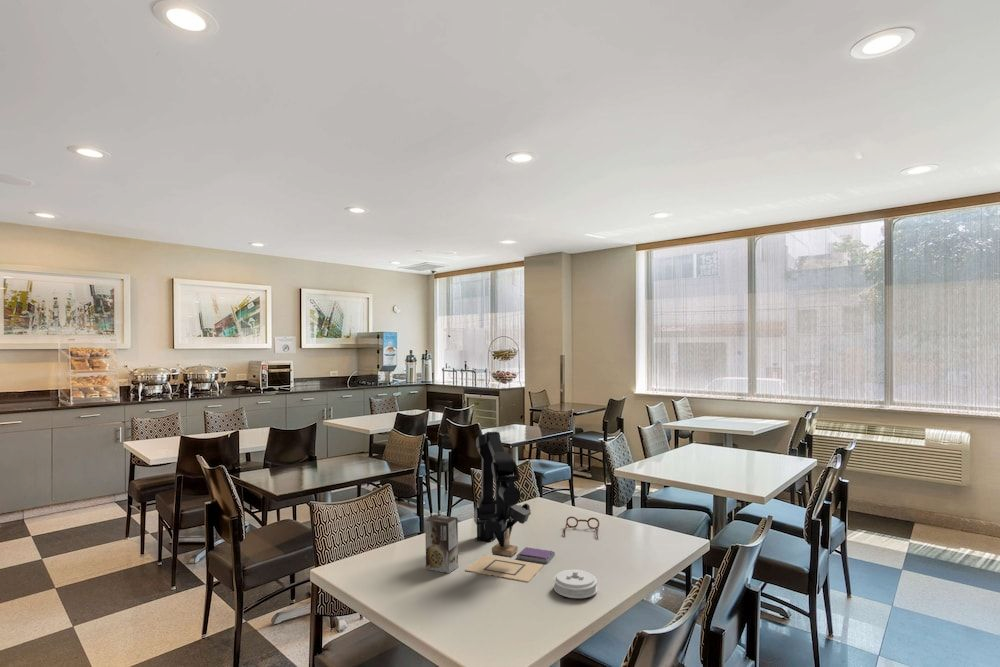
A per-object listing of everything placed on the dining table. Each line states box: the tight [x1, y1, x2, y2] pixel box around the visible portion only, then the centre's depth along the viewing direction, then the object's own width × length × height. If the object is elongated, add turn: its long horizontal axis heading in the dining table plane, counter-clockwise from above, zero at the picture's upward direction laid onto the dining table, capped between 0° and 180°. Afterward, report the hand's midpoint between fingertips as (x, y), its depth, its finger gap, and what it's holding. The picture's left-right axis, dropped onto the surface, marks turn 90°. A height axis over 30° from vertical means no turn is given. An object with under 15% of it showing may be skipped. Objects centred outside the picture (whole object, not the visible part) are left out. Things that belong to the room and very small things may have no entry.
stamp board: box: [464, 554, 545, 583], centre depth 174 cm, size 22×14×1 cm, turn 66°
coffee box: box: [424, 514, 459, 574], centre depth 175 cm, size 9×6×16 cm
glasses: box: [563, 516, 600, 540], centre depth 208 cm, size 13×13×5 cm
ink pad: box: [516, 547, 556, 564], centre depth 183 cm, size 11×8×2 cm
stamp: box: [491, 529, 518, 559], centre depth 174 cm, size 7×5×8 cm
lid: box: [553, 569, 598, 599], centre depth 157 cm, size 13×13×5 cm
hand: (504, 544), depth 174 cm, fingers closed on stamp, 3 cm apart
